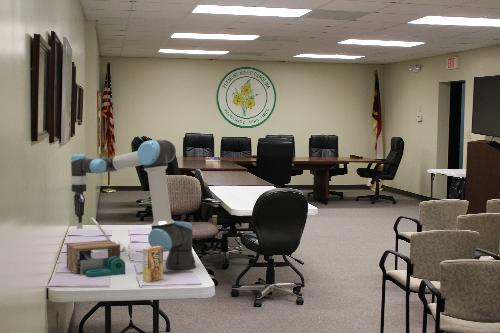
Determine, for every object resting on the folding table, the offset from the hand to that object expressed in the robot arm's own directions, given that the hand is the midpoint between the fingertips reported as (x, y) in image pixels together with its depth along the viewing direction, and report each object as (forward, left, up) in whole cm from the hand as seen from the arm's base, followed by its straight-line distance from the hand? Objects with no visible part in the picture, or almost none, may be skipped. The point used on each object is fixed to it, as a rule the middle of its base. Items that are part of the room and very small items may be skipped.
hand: (79, 228), depth 340 cm
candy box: (-59, -17, -17) cm, 63 cm away
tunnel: (-24, 0, -17) cm, 29 cm away
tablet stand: (+23, -22, -17) cm, 36 cm away
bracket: (-38, -1, -17) cm, 41 cm away
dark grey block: (-21, 0, -16) cm, 26 cm away
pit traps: (-10, 0, -17) cm, 19 cm away
